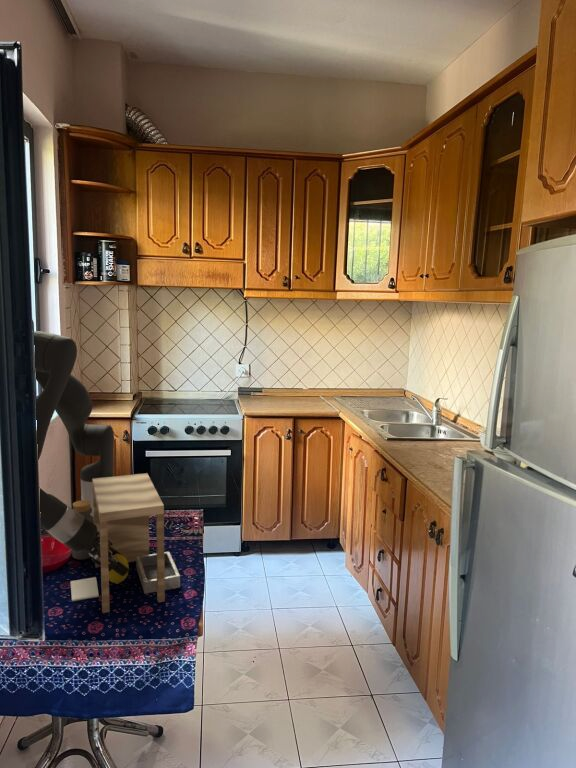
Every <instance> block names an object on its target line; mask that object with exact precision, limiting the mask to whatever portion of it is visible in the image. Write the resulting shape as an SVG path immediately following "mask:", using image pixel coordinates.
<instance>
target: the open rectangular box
mask: <svg viewBox="0 0 576 768" xmlns="http://www.w3.org/2000/svg"><path fill="white" fill-rule="evenodd" d="M175 563H176V562H175V561H174V559H173V557H172V554H171V553H170V551H164V576H165V591H168V590H172V589H177V588H181V575H180V573H179V570H178V568H177V565H176V564H175ZM135 564H136V565H135V566H136V571H137V574H138V576H139V577H138V578H139V580H140V584H141V586H142V590H143V593H144V595H145V594H146V595H147V594H150V593H151V594H152V593H157V552H156V553H152V554H151V553H149V555H143V556H137V557H136V561H135Z"/></svg>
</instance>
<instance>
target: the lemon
mask: <svg viewBox="0 0 576 768" xmlns="http://www.w3.org/2000/svg"><path fill="white" fill-rule="evenodd" d="M113 556H114V557H115V558H116V559H117V560H118V561H119V562H121V563H122V564H124V565H125V566H126V567H128V569H129V568H130V566H129V562H128V561H127V559H126V558H125V557H124V556H123V555H120V554H115V555H113ZM108 563H109V564H110V563H111V562H108ZM128 575H129V571H128V572H127V573H126V574H125V576H121V575H120V574H118V573H117V572H116V571H114V570H113V569H112V570H111V571H110V572H109V582H111V583H113V584H116V585H119V584H120V583H122V582H123V581H125V579H126V578H127V577H128Z"/></svg>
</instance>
